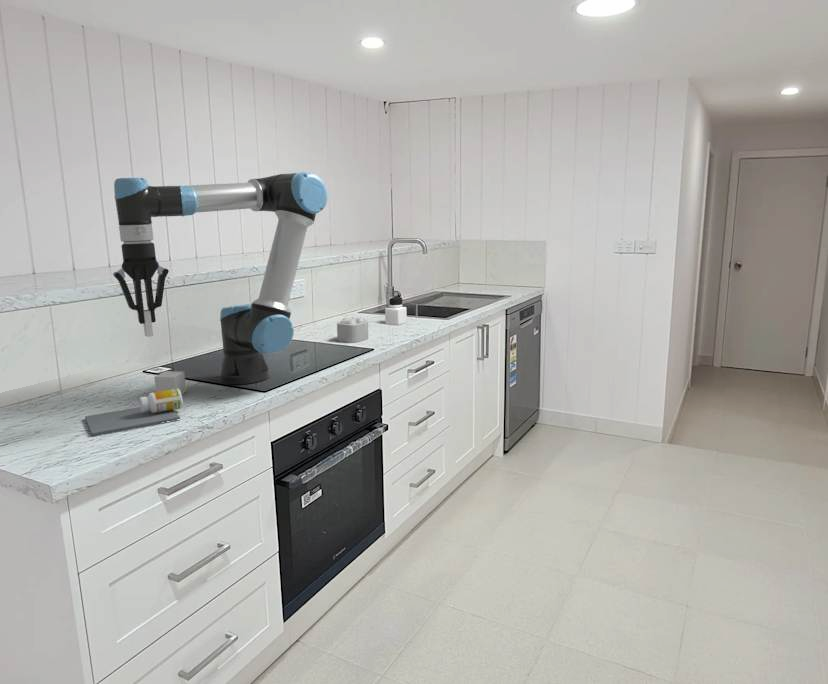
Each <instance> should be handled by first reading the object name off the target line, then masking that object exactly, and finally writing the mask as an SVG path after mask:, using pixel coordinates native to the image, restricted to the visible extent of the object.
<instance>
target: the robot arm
mask: <svg viewBox="0 0 828 684" xmlns="http://www.w3.org/2000/svg"><path fill="white" fill-rule="evenodd" d="M147 181H148V179H146V178H145V177H118V178H116V179H115V180H114V183H113V185H114V187H113V189H114V191H113V192H114V200H115V201H114V202H115V207H116V214H117V219H118V230H119V237H120V241H121V242H122V243H123V244H121V245H120V246H121V252H122V253H121V254H122V264H121V268H120V269H118V270H117V271H114V272H113V274H112V275H113V277H114V278H115V279H116V280H117V281H118V283H119V285H120V289H121V291H122V293H123V296H124V299H125V300H126V303H127V306H128V308H129V309H130V310H133V311H136V312H137V319H138V323H139V324H141V325H143V332H144V336H145V337H147V338H149V337H154V331H153V330H154V329H153V323H156V313H155V311H156V309H157V308H161V307H162V306H163V305H162V304H163V298H164V291H165V282H166V277H167V276H168V274H169V271H170V270H169V269H168V268H166V267H163V266H160V264H159V262H158V260H157V256H156V246H155V243H154V242H152V241H153V240H154V239H155V238H154V232H153V225H152V224H153V221H152V218H158V217H186V216H193V215H194V214H195V213H196V214H197V213H207V212H209V213H211V212H222V211H235V210H236V211H237V210H247V209H250V210H251V211H253V212H271V213H272V212H274V213H275V215H276V217H277V219H278V221H277V225H276V228H275V232H274V236H273V240H272V245H271V249H270V251H269V252H270V253H269V256H268V260H267V265H266V268H265V272H264V274H263V275H264V276H263V280H262V283H261V288H260V292H259V297H257V298H256V299H255V300H253V301H252V302H251V303H249V304H240V305H233V306H231V305H230V306H225V307H222V308H221V310H220V315H219V316H220V318H219V321H220V326H221V327H220V328H221V330H220V331H221V340H222V349H223V357H222V361H221V364H220V365H221V366H220V368H219V374H218V375H219V381H220V383H224V384H229V385H245V384H246V385H247V384H252V383H253V384H254V383H258V382H263V381H265V380H267V379H269V378H270V368H269V365H268V363H267V361H266V359H265V356H264V354H270V355H275V354H278V353H281V352H283V351H284V350H286V349H287V348H288V347H289V346H290V344H292V341H293V337H294V326H293V323H292V321H291V314H292V311H291V309H290V308H289V301H290V297H291V293H292V289H293V286H294V282H295V277H296V274H297V273H296V272H297V269H298V266H299V261H300V257H301V253H302V250H303V246H304V242H305V238H306V235H307V229H308V228H309V227H310V226H312V225H315V224H314V223H315V219H316V215H317V214H319V213H320V212H322V211H323V210H324V209H325V208H326V205H327V202H328V190H327V187H326V186H325V183H324V181H323V180H322V178H320V176H318V175H317V174H315V173H312V172H304V171H299V172H293V173H292V172H291V173H280V174H275V175H271V176H266V177H261V178H250V179H248V181H247V182H236V183H231V182H230V183H215V184H197V185H196V184H195V185H194V184H191V185H163V186H162V185H161V186H152V185H149V184H148V182H147ZM156 272H157V274H158V276H157V282H156V289H155V298H154V291H153V285H152V284H153V280H152V278H153V276H154V275H155V273H156ZM126 274H127V276H129V278H130V279H131V280H132V283H133V289H134V296H135V300H134V299H133V297H132V294H131V291H130V289H129V286H128V284H127V281H126V280H125V278H126ZM142 280H143V283H144V289H145V296H146V297H145V298H146V304H147V305H146V306H147V307H146V308H147V309H145V307H144V300H143V291H142Z"/></svg>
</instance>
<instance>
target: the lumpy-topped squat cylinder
mask: <svg viewBox="0 0 828 684" xmlns="http://www.w3.org/2000/svg"><path fill="white" fill-rule="evenodd" d="M336 333H337V335H336V336H337V342H340V343H347V344H357V343H361V342H364V341H368V340H369V321H368V320H367V319H365V317H362V316H361V317H359V316H353V317H352V318H349V317H347V316H345V317H344V318H343V319H342V320H341V321H338V322H337V323H336Z"/></svg>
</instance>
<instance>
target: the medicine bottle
mask: <svg viewBox="0 0 828 684" xmlns="http://www.w3.org/2000/svg"><path fill="white" fill-rule="evenodd" d="M388 306H389V307H385V309H384V315H385V316H384V322H385V325H394V326H400V325H403V324H406V323H408V322H407V318H408V317H407V316H408V315H407V314H408V313H407V307H406V306H403V297H402V296H391V297H389V298H388Z"/></svg>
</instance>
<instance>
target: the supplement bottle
mask: <svg viewBox="0 0 828 684" xmlns="http://www.w3.org/2000/svg"><path fill="white" fill-rule="evenodd" d="M138 403H139V407H140V409H141V412H142V413H143V412H148V411H151V412H152V413H159V412H164V411H170V410H174V411H175V410H180V409H182V407H183V396H182V394H181V392H180V390H179V389H171V390H165V391H158V392H156V391H153V392H150V393H149V394H148V395H147V396H140V397H139V401H138Z"/></svg>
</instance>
